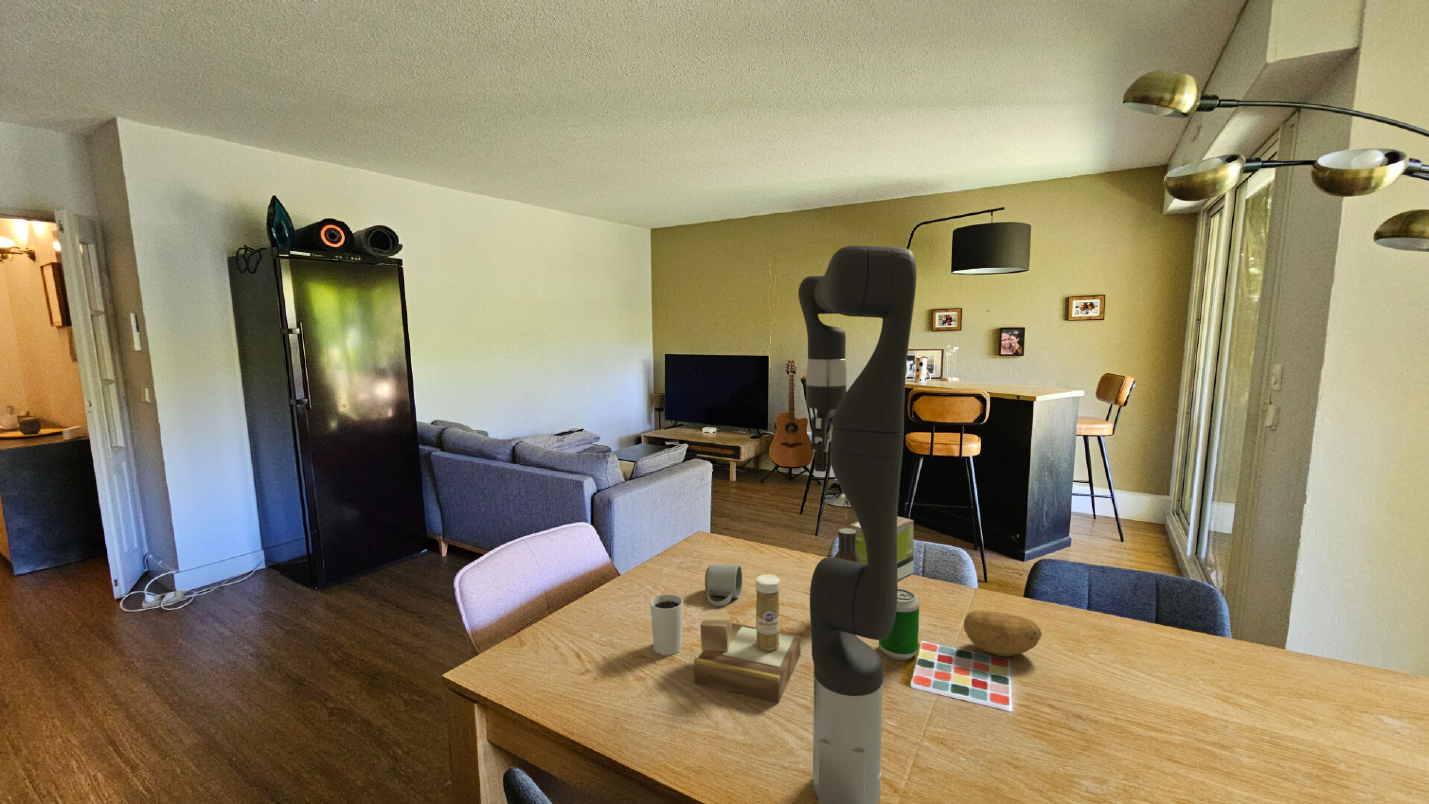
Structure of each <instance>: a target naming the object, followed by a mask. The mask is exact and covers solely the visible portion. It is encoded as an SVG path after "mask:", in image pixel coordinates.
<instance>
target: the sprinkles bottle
mask: <svg viewBox="0 0 1429 804" xmlns="http://www.w3.org/2000/svg"><path fill="white" fill-rule="evenodd" d="M780 581H781V580H780V578H779V577H777V576H776V575H773V574H762V575H759V576H758V577H757V576H756V578H755V591H756V603H755V621H756V622H755V625H756V629H757V641H756V646H757V647H758V648H759V649H761V650H764V651H773V650H776V649H777V648H778V647H779V632H780V600H779V599H780V589H781V587H780V586H781V583H780Z"/></svg>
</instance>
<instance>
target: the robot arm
mask: <svg viewBox="0 0 1429 804" xmlns="http://www.w3.org/2000/svg"><path fill="white" fill-rule="evenodd" d="M916 289H917V262H916V258H915V255H914V253H913V252H912V250H910V249H908V248H906V247H898V246H897V247H896V246H883V245H882V246H881V245H880V246H879V245H878V246H877V245H848V246H844V247H840V248H839V249H838V250H837V251H836V252H834V254H833V255H832V257H831V258H830V261H829V262H828V266H827V268H826V270H825V273H824V275H811V276H806V277H805V278H804V279H802V281H801V282H800V284H799V287H798V292H797V293H798V294H797V295H798V301H799V305H800V308H801V311H802V315H803V318H804V323H805V328H806V333H807V334H806V335H807V365H806V369H805V371H806V373H805V374H806V375H805V383H806V384H805V405H806V407H807V408H809V409H813V410H814V409H815V410H816V416H813V417H811V444H810V448H811V450H813V452H814V470H815V471H816V472H822V473H823V472H825V473H826V471H827V469H828V463H830V465H831V468H832V473H833V474H834V476H835V478H836V479H835V480H837V483H838V485H839V487H840V489H841V492H842V493H843V494H844V496H845V498H846V500H847V503H849V505H850V507H851V509H852V510H853V513H854V515H855V516H856V519H857V522H858V521H859V524H860V526H861V529H862V532H863V536H864V540H865V545H866V552H867V563H868V564H864V563H859V562H854V561H849V560H844V559H840V558H834V557H835V556H834V557H833V556H832V557H831V556H827V557H823V558H822V559H821V560H819V562H818V563H817V564H816V566H815V568H814V570H813V573H812V576H811V581H810V585H809V586H810V588H809V617H810V629H811V630H810V635H811V636H810V637H811V657H812V658H811V659H812V662H813V715H812V716H813V719H812V720H813V723H812V725H813V726H812V727H813V729H812V730H813V733H812V735H813V737H812V740H813V741H812V761H813V763H812V787H813V788H812V789H813V792H814V794H815V796H816V798H817V804H879V802H880V800H881V781H882V780H881V779H882V776H881V775H882V773H881V772H882V769H881V768H882V767H881V766H882V763H881V762H882V732H883V731H882V730H883V729H882V724H883V692H884V691H883V688H884V687H883V686H884V682H883V681H884V664H883V660H882V658H881V657H880V655H879V653H878V652H877V651H876V650H875V649H874V648H873V647H871V646H870V645H869V644H868V643H866V642H865V641H863V640H862V639H860V638H859V637H861V638H865V639H867V640H868V639H869V640H874V641H879V640H884V639H886V638H887V637H888V636H889V635H890V633H891V631H892V629H893V625H894V622H895V617H896V610H897V589H898V580H897V516H898V513H899V512H898V510H899V499H900V498H899V497H900V485H901V483H900V482H901V473H902V465H903V450H904V435H905V433H904V431H905V426H904V425H905V398H906V397H905V396H906V395H905V393H906V392H905V391H906V373H907V361H908V352H909V347H910V346H909V344H910V338H911V337H910V336H911V328H912V321H913V316H914V315H913V314H914V307H915V306H914V305H915V297H916ZM834 314H835V315H837V314H838V315H842V316H846V317H856V318H857V317H858V318H859V317H860V318H880V319H882V324H881V329H880V330H881V331H880V334H879V338H878V341H877V344H876V346H875V348H874V350H873V352H872V355H871V357H870V358H869V359H868V361H867V363H866V365H865V366H864V367H863V369H862V371H860V373H859V374H858V376H857V377H856V378H855V380H854V381H853V382H852V384H851V386H849V388H847V379H848V378H847V372H848V371H847V365H846V364H847V363H846V362H847V361H846V354H847V353H846V351H847V350H846V341H847V337H846V332H845V330H844V329H843V328H841V327H839V326H838V327H837V326H832V325H828V324H825V323H823V322H822V320H821V319H820V318H819V315H834ZM819 442H821V443H819Z"/></svg>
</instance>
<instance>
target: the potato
mask: <svg viewBox="0 0 1429 804" xmlns="http://www.w3.org/2000/svg"><path fill="white" fill-rule="evenodd" d="M963 629H964V632H965V634H966V635H967V638H968V639H969V640H970V642H972V644H973V645H975V647H977V648H979V649H980V650H982V651H983V652H986V653H988V654H991V655H994V656H997V657H1003V658H1007V657H1013V656H1017V655H1020V654H1023V653H1026V652H1028V651H1030V650H1031V649H1034V648H1035V647H1036V646H1037V645H1038V643H1039V641H1040V639H1041V637H1042V635H1043V634H1042V631H1041V629H1040V627H1039V626H1038V624H1037V623H1036V622H1035V621H1034V620H1032V619H1029V618H1027V617H1025V616H1021V615H1017V614H1012V613H1005V612H1001V611H989V610H978V609H976V610H973V611H970V612H969V613H967V614H966V615H965V618H964V620H963Z"/></svg>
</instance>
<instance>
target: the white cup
mask: <svg viewBox="0 0 1429 804" xmlns="http://www.w3.org/2000/svg"><path fill="white" fill-rule="evenodd" d="M649 603H650V605H649V606H650V615H651V618H650V619H651V629H652V640H653V641H652V642H653V643H652V644H653V651H654V650H655V651H656V652H657V653H656V652H655V651H654V652H655V653H656V654H658V653H660V654H662V656H672V655H671V654H674V655H675V653H676V654H678V653H679V652H680V651H682V649H681V648H683V626H684V625H683V621H684V619H683V618H684V600H683V597H682V596H680V595H677V594H673V593H665V594H663V593H662V594H659V595H655V596H654V597H653V598H651V600H650V602H649ZM677 652H678V653H677ZM660 654H659V655H660Z"/></svg>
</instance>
